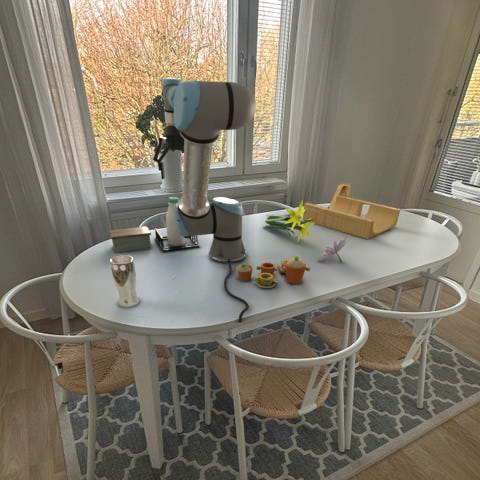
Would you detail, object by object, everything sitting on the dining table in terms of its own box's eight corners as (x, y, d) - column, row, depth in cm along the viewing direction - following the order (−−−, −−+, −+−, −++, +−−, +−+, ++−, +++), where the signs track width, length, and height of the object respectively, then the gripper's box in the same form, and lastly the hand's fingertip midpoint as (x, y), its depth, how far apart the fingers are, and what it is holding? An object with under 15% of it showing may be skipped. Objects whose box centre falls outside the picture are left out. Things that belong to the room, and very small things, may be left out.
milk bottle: (182, 247, 152) (178, 200, 141) (165, 245, 153) (160, 199, 142) (187, 241, 158) (184, 196, 147) (171, 239, 160) (167, 195, 149)
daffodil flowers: (285, 225, 184) (331, 226, 154) (266, 243, 181) (309, 248, 151) (268, 199, 175) (314, 195, 145) (249, 218, 172) (291, 217, 143)
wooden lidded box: (152, 248, 150) (150, 232, 146) (114, 253, 144) (111, 237, 140) (148, 241, 156) (146, 226, 152) (112, 246, 151) (108, 230, 147)
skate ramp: (302, 221, 190) (305, 191, 181) (338, 208, 210) (343, 180, 201) (367, 241, 166) (374, 207, 157) (401, 224, 186) (409, 194, 177)
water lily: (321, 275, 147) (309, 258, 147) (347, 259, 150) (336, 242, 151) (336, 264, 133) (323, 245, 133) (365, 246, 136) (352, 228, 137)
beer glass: (120, 297, 114) (112, 254, 106) (141, 296, 114) (135, 254, 106) (115, 308, 108) (106, 264, 100) (138, 307, 109) (131, 264, 100)
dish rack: (199, 247, 152) (198, 235, 149) (163, 252, 147) (162, 239, 144) (188, 235, 165) (187, 223, 162) (155, 239, 160) (153, 227, 156)
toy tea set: (291, 266, 138) (294, 243, 133) (312, 282, 126) (316, 258, 121) (231, 275, 129) (231, 251, 124) (247, 294, 117) (248, 268, 112)
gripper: (206, 124, 142) (207, 178, 154) (147, 121, 143) (152, 175, 155) (204, 127, 136) (205, 183, 148) (141, 124, 137) (148, 179, 149)
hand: (178, 179), depth 152 cm, fingers open, 13 cm apart
